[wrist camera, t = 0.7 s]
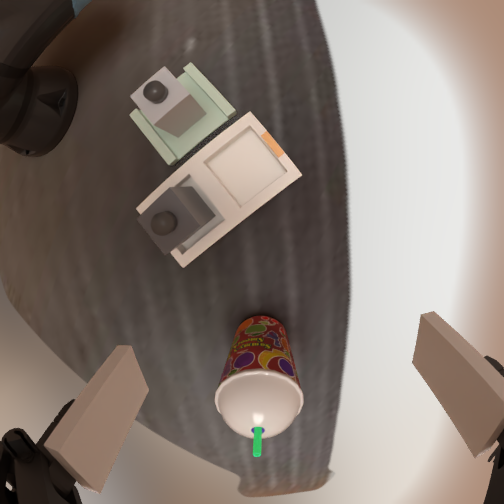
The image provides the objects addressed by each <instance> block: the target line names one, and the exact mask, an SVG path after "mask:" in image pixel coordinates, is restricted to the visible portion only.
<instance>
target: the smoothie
mask: <svg viewBox="0 0 504 504" xmlns="http://www.w3.org/2000/svg"><path fill="white" fill-rule="evenodd" d="M303 403H304V401H303V392H302V390H301V388H300V383H299V379H298V376H297V372H296V368H295V364H294V360H293V356H292V352H291V348H290V344H289V340H288V337H287V333H286V330H285V328H284V327H283V325H282V324H281V323H280V322H278V321H277V320H275V319H273V318H271V317H269V316H262V315H260V316H254V317H251V318H249V319H247V320H245V321H244V322H243V323H242V324H241V325H239V327H238V329H237V331H236V334H235V337H234V340H233V343H232V346H231V349H230V352H229V355H228V358H227V361H226V364H225V368H224V371H223V374H222V377H221V380H220V383H219V386H218V388H217V390H216V393H215V404H216V407H217V410H218V411H219V412H220V414H221V415H222V417H223V419H224V421H225V422H226V423H227V424H228V426H229V427H230V428H231V429H232V430H234V431H235V432H237V433H238V434H240V435H242V436H245V437H248V438H254V444H253V456H254V457H260V456H261V439H263V438H269V437H273V436H275V435H277V434H279V433H281V432H283V431H284V430H285V429H286V428H287V427H288V426H289V425H290V424H291V423H292V422H293V421H294V419H295V417H296V416H297V415H298V414H299V413H300V411H301V408H302V406H303Z"/></svg>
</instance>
